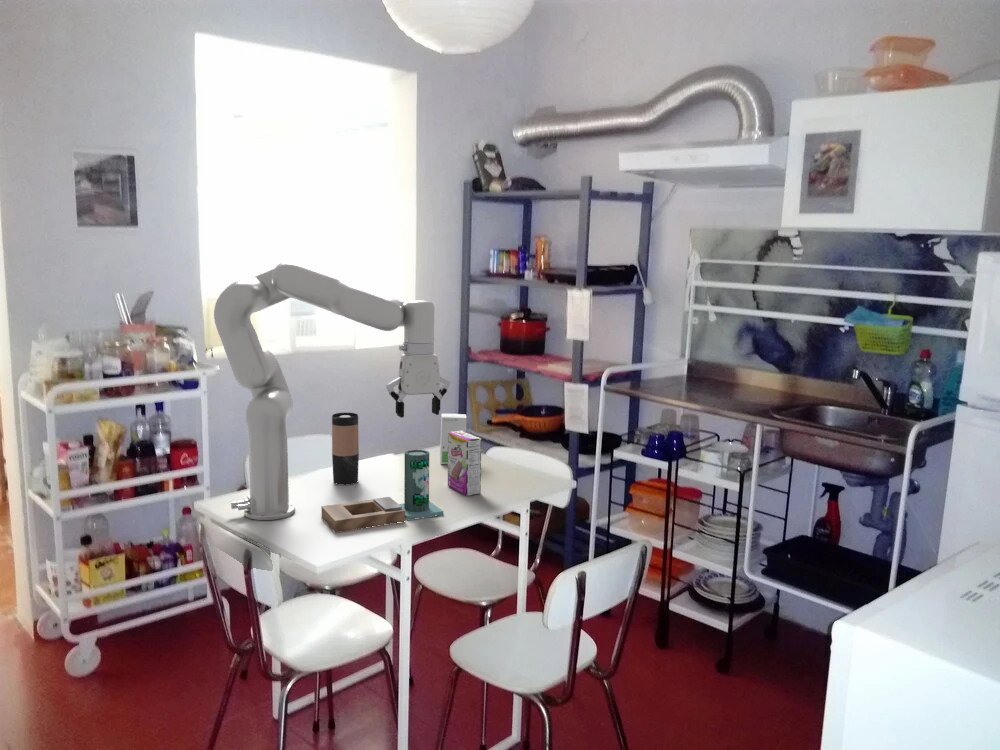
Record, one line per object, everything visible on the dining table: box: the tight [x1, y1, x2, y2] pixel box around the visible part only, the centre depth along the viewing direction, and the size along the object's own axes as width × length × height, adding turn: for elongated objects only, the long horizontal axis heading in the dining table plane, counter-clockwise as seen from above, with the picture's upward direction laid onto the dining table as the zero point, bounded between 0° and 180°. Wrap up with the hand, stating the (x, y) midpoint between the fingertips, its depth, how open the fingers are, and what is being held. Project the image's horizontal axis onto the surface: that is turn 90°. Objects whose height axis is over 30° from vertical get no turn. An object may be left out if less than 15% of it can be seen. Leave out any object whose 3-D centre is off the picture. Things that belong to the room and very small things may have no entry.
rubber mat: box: [398, 500, 444, 521], centre depth 206 cm, size 10×10×1 cm
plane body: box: [320, 496, 406, 533], centre depth 199 cm, size 18×12×4 cm, turn 118°
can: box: [403, 449, 430, 512], centre depth 205 cm, size 6×6×15 cm
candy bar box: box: [447, 430, 482, 497], centre depth 224 cm, size 11×5×16 cm, turn 34°
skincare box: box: [439, 413, 468, 465], centre depth 254 cm, size 8×7×16 cm
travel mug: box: [331, 412, 360, 486], centre depth 230 cm, size 8×8×20 cm
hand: (418, 415), depth 202 cm, fingers open, 9 cm apart
